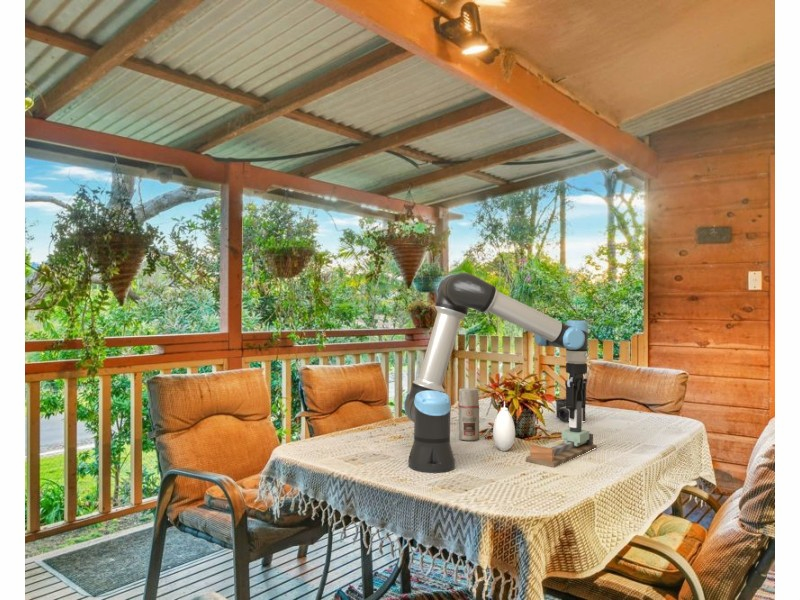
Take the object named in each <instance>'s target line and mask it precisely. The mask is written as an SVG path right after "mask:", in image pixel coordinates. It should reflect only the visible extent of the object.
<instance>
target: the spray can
mask: <svg viewBox="0 0 800 600" xmlns="http://www.w3.org/2000/svg"><path fill="white" fill-rule="evenodd" d="M458 436H459V437H458V439H459V440H461V441H478V440H479V439H480V404H479V389H477V388H467V387H465V388H459V391H458Z"/></svg>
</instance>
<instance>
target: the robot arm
mask: <svg viewBox="0 0 800 600" xmlns="http://www.w3.org/2000/svg"><path fill="white" fill-rule="evenodd" d="M436 287H437V288H436V297H437V298H436V301H435V304H434V307H435V310H436V311H437V312H436V317H435V320H434V324H433V328H432V330H431V334H430V338H429V341H428V345H427V348H426V352H425V354H424V358H423V362H422V365H421V368H420V371H419V375H418V378H417V379H415V380H413V381H412V383H411V387H410V390H409V391H408V393H407V394H406V395H405V397H404V401H403V408H404V412H405V414H406V416H407V417H408V419H409V420H410V421H412V422H413V424H414V425H413V429H414V430H413V442H412V446H411V449H410V452H409V455H408V459H407V460H408V461H407V466H408V467H409V468H410V469H412V470H414V471H417V472H418V471H419V472H423V473H444V472H449V471H452V470H454V469H455V468H456V458H455V457H454V456H455V455H454V453H453V448H452V444H451V409H452V403H451V397H450V396H449V395H448V393H445V392H446V390H445V388H444V386H443V383H444V380H445V376H446V373H447V370H448V365H449V363H450V359H451V355H452V352H453V348H454V346H455V342H456V338H457V335H458V332H459V328H460V324H461V321H462V320H463V319H464V318H465V317H467V315H468V312H469V309H472V310H476V311H478V312H480V313H483V314H485V313H487V312H488V313H490V314H492V315H494V316H496V317H498V318H500V319H502V320H505V321H507V322H509V323H510V324H513V325H515V326H517V327H520V328H522V329H523V330H525V331H528V332H530V333H531V334H534V335H533V336H534V337H533V338H534V343H535V344H536V345H537V346H538V347H555V348H559V349H565V362H566V363H565V372H566V374H569V377H568V380H565V382H564V383H565V398H566V409H569V422H568V427H569V428H570V427H573V428H577V410H576V402H577V400H578V401H582V421H583V408H585V409H586V407H587V406H586V404H587V403H586V402H587V400H586V399H587V384H588V383H587V382H588V378H584V375H585V374H586V375H587V373H588V363H587V362H588V357H589V354H588V343H589V341H588V340H589V329H588V327H589V326H588V322H587V321H586V320H577V319H575V320H574V319H573V320H571V319H570V320H569V319H568V320H567V321H566V323H564V322H561V321H560V320H558V319H555V318H553V317H551V316H550V315H547V314H545V313H543V312H541V311H539V310H537V309H535V308H533V307H531V306H529V305H527V304H525V303H523V302H520V301H519V300H517V299H514V298H512V297H510V296H508V295H506V294H504V293H502V292H500V291H498V288H497V287H496V286H495V285H493V284H491V283H489V282H487V281H485V280H483V279H482V278H480V277H477V276H476V275H474V274H472V273H468V272H459V273H452V274H449V275H446V276H445V277H443V278H442V279H441V280H440V281H439V282H438V285H437V286H436ZM584 405H585V406H584ZM582 421H581V427H583V423H582Z"/></svg>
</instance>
